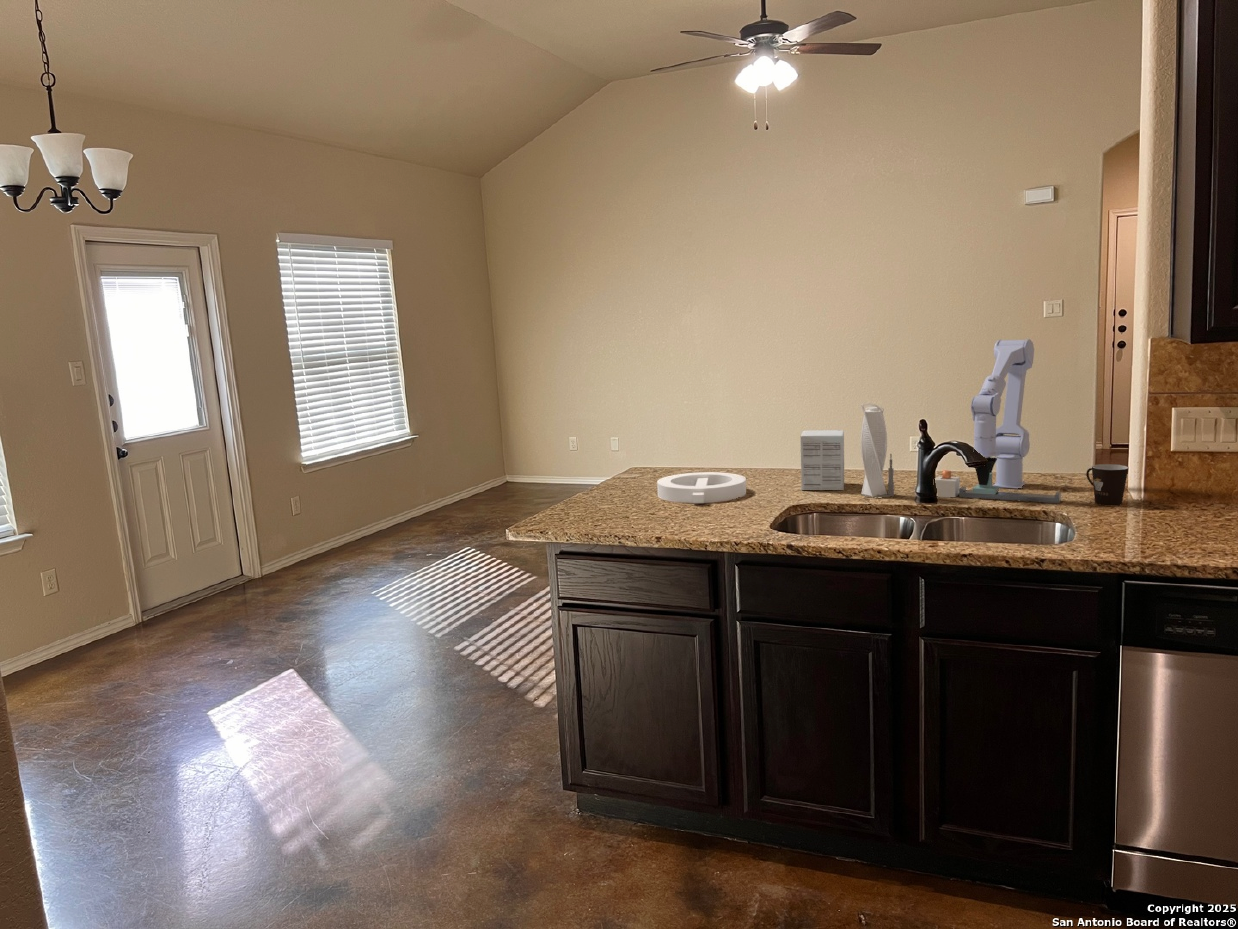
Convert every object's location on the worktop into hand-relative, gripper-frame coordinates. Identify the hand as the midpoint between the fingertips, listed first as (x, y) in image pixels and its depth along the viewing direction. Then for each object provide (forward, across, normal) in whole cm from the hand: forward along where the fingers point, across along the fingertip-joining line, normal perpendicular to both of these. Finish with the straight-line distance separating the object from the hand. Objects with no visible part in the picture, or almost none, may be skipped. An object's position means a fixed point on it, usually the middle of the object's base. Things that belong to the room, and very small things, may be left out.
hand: (984, 483), depth 251 cm
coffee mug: (+4, +4, -31) cm, 31 cm away
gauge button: (-1, 0, +10) cm, 10 cm away
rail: (+4, 0, -7) cm, 8 cm away
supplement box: (+4, +1, +48) cm, 49 cm away
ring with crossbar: (+5, -21, +80) cm, 83 cm away
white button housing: (+4, 0, +10) cm, 11 cm away
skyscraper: (+4, -7, +29) cm, 30 cm away
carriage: (+2, 0, 0) cm, 2 cm away
